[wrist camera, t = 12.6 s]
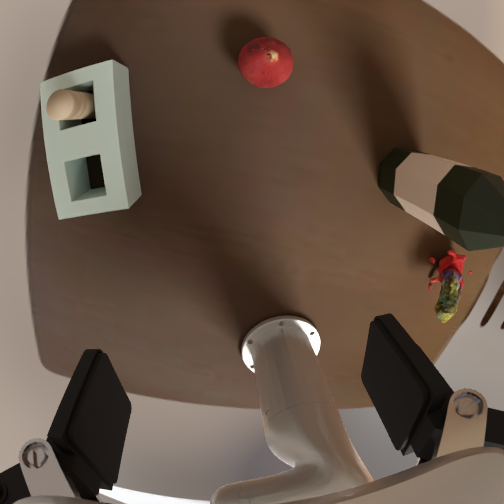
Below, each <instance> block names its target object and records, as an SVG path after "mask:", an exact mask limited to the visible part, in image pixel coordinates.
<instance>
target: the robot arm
mask: <svg viewBox="0 0 504 504" xmlns="http://www.w3.org/2000/svg"><path fill="white" fill-rule="evenodd" d="M319 348H320V337H319V334H318V332H317V330H316V328H315V327H314V325H313V324H312V323H310V322H309V321H308V320H306V319H303V318H301V317H297V316H288V315H285V316H277V317H273V318H269V319H267V320H265V321H262V322H261V323H259V324H257V325H256V326H255V327H253V328H252V329H251V330H250V331H249V332H248V334H247V335H246V336H245V338H244V340H243V343H242V346H241V353H242V359H243V361H244V363H245V365H246V366H247V367H248V368H249V369H250V370H251V371H253V372H255V378H256V384H257V390H258V396H259V402H260V408H261V413H262V419H263V425H264V431H265V437H266V441H267V444H268V446H269V448H270V449H271V451H272V452H273V453H274V454H275V455H276V456H277V457H278V458H279V459H280V460H282V461H283V462H285V463H286V464H288V465H290V466H291V467H293V469H291V470H288V471H284V472H282V473H279V474H275V475H271V476H267V477H261V478H257V479H251V480H247V481H241V482H236V483H231V484H228V485H225V486H222V487H221V488H219V489H218V490H216V491H215V492H214V494H213V496H212V498H211V501H210V504H504V411H500V410H496V409H492V408H487V402H486V400H485V398H484V397H483V395H482V394H481V393H479V392H477V391H476V390H472V389H461V390H458V391H456V392H453V390H452V389H451V388H450V386H449V385H448V384H447V382H446V381H445V380H444V378H443V377H442V376H441V374H440V373H439V371H438V370H437V369H436V368H435V366H434V365H433V364H432V362H431V361H430V360H429V358H428V357H427V356H426V355H425V353H424V352H423V351H422V349H421V348H420V347H419V346H418V345H417V344H416V343H415V342H414V341H413V339H412V338H411V337H410V336H409V334H408V333H407V332H406V331H405V329H404V328H403V327H402V326H401V325H400V323H399V322H398V321H397V320H396V318H395V317H394V316H393V315H392V314H390V313H389V314H385V315H380V316H376V317H375V318H374V321H372V322H371V323H370V328H369V334H368V340H367V346H366V352H365V358H364V363H363V368H362V374H361V378H362V382H363V384H364V386H365V388H366V390H367V392H368V394H369V396H370V398H371V400H372V402H373V404H374V406H375V408H376V410H377V412H378V414H379V416H380V418H381V420H382V422H383V424H384V426H385V428H386V430H387V432H388V434H389V437H390V438H391V441H392V443H393V445H394V447H395V449H396V450H401V452H402V454H403V456H404V455H407V454H410V453H412V452H415V454H416V456H417V457H418V459H417V462H416V465H415V467H412V468H410V469H407V470H405V471H402V472H399V473H396V474H393V475H391V476H388V477H385V478H382V479H379V480H376V481H374V480H373V478H372V477H371V475H370V473H369V472H368V470H367V468H366V467H365V465H364V464H363V462H362V460H361V459H360V457H359V456H358V454H357V452H356V450H355V448H354V447H353V444H352V442H351V440H350V438H349V436H348V434H347V431H346V429H345V426H344V424H343V421H342V419H341V416H340V414H339V411H338V409H337V406H336V404H335V401H334V398H333V396H332V393H331V391H330V388H329V386H328V383H327V381H326V378H325V376H324V373H323V371H322V368H321V366H320V363H319V361H318V358H317V353H318V351H319ZM130 414H131V402H130V400H129V398H128V396H127V394H126V393H125V391H124V389H123V387H122V385H121V383H120V381H119V379H118V377H117V375H116V373H115V370H114V368H113V366H112V364H111V362H110V360H109V358H108V356H107V354H106V353H103V352H102V350H100V349H87V350H85V351H84V353H83V355H82V357H81V359H80V361H79V363H78V365H77V367H76V369H75V371H74V374H73V376H72V378H71V380H70V382H69V385H68V387H67V389H66V391H65V394H64V396H63V398H62V400H61V403H60V405H59V407H58V410H57V413H56V415H55V417H54V420H53V422H52V425H51V427H50V430H49V432H48V435H47V436H48V437H47V440H46V441H45V440H43V439H32V440H29V441H28V442H26V443H25V444H24V445H23V446H22V448H21V450H20V452H19V463H18V464H17V465H15V466H13V467H11V468H9V469H7V470H5V471H4V472H2V473H0V504H110V503H104V502H103V501H102V499H101V498H100V496H99V495H98V494H99V489H107V490H112V487H113V483H114V484H115V483H116V482H117V479H118V473H119V468H120V463H121V457H122V452H123V447H124V442H125V437H126V433H127V428H128V423H129V419H130Z"/></svg>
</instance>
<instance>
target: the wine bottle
mask: <svg viewBox="0 0 504 504" xmlns="http://www.w3.org/2000/svg"><path fill="white" fill-rule="evenodd" d="M378 187H379V188H380V190H381V191H382V192H383V194H384V195H385V196H386V198H387V199H388V200H389V202H390V203H392V204H394V205H395V206H397V207H399V208H401V209H402V210H404V211H406V212H407V213H409V214H411V215H413V216H414V217H416V218H418V219H419V220H421V221H423V222H424V223H426V224H427V225H429V226H431V227H432V228H434V229H436V230H437V231H439V232H440V233H442V234H443V235H445V236H447V237H448V238H450V239H451V240H453V241H454V242H456V243H457V244H459V245H460V246H462V247H463V248H465V249H466V250H468V251H473V250H483V249H491V248H498V247H504V181H503V180H502V178H501V176H498V175H495V174H492V173H489V172H486V171H484V170H481V169H477V168H474V167H471V166H468V165H465V164H462V163H458V162H455V161H452V160H448V159H445V158H441V157H437V156H434V155H430V154H426V153H422V152H418V151H414V150H406V149H397V148H395V149H394V150H393V151H392V152H391V153H390V154H389V155H388V156H387V157H386V158H385V159H384V160H383V161H382V162H381V163H380V170H379V184H378Z"/></svg>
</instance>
